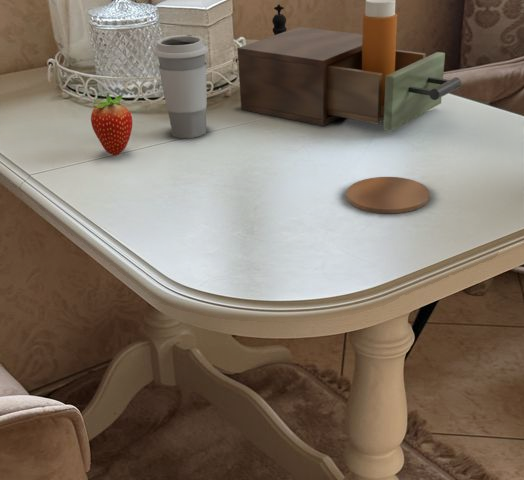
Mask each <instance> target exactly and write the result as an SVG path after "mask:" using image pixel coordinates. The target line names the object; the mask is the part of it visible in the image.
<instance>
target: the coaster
mask: <svg viewBox="0 0 524 480" xmlns="http://www.w3.org/2000/svg"><path fill="white" fill-rule="evenodd" d="M345 195H346V200H347V202H348V203H349V204H350V205H352V206H353V207H355V208H357V209H359V210H362V211H365V212H370V213H375V214H401V213H402V214H403V213H408V212H411V211H416V210H418V209H421V208H422V207H424V206H426V205H427V203H428V202H429V200H430V196H431V192H430V189H429V188H428V187H427V185H424V184H423V183H421V182H419V181H416V180H414V179H410V178H405V177H399V176H377V177H369V178H364V179H362V180H358V181H356V182H354V183H351V185H350V186H348V188H347V190H346V194H345Z"/></svg>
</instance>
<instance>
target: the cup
mask: <svg viewBox="0 0 524 480" xmlns="http://www.w3.org/2000/svg"><path fill="white" fill-rule="evenodd" d="M207 53H209V48H208V45H207V44H206V43H205V41H204V38H203V37H202V36H199V35H193V34H180V35H179V34H178V35H171V36H166V37H162V38H159V39H158V40H157V41H156V47H154V49H153V55H154V56H155V57H157V58H158V63H159V65H158V69H159V75H160V81H161V86H162V91H163V96H164V102H165V107H166V110H167V113H168V118H169V123H170V130H171V134H172V136H174V138H179V139H193V138H198V137H201V136H203V135H205V134H206V133H207V106H208V102H207V101H208V99H207V98H208V97H207V96H208V95H207V90H208V89H207V63H206V54H207Z"/></svg>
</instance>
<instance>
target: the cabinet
mask: <svg viewBox="0 0 524 480" xmlns="http://www.w3.org/2000/svg"><path fill="white" fill-rule="evenodd" d="M362 36H363V33H361V34H360V33H353V32H347V31H337V30H328V29H321V28H312V27H304V26H298V27H295V28H292V29H289V30H286V32H283V33H280V34H277V35H274V34H273V35H272V36H268V37H266V38H262V39H259V40H256V41H254V42H250V43H247V44H245V45H242V46H239V47H237V48H236V51H237V64H238V65H237V67H238V79H239V95H240V110H243V111H247V112H253V113H258V114H261V115H267V116H272V117H277V118H281V119H282V118H283V119H286V120H292V121H297V122H302V123H308V124H311V125H316V126H322V127H324V126H326V125H328V124H330V123H332V122H335V121H337V120H339V119H340V118H341V117H339V116H334V115H329V114H327V109H326V65H329V64H331V63H334V62H336V61H338V60H341V59H343V58H346V57H348V56H351V55H353V54H356V53H358V52H360V51H362Z"/></svg>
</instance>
